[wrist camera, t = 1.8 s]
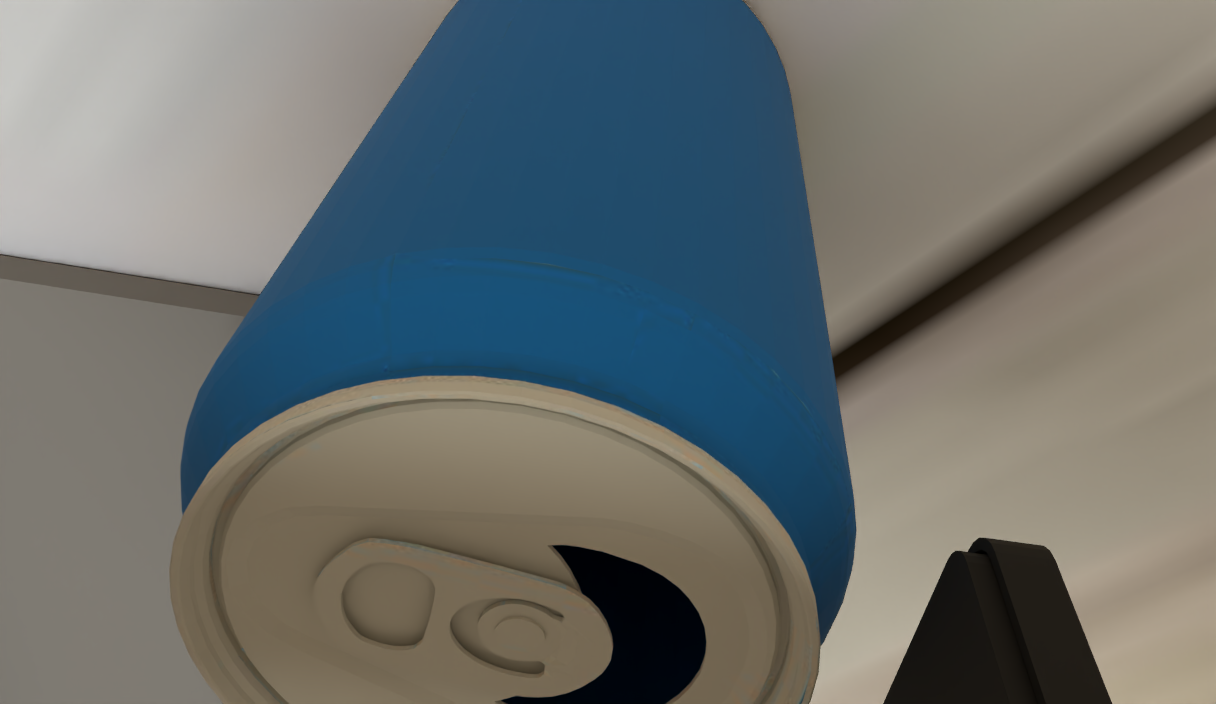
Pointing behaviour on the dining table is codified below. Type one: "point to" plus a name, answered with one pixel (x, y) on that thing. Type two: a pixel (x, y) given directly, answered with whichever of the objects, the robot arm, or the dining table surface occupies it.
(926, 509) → the dining table surface
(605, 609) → the beverage can
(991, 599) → the robot arm
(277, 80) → the dining table surface
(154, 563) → the tray
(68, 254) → the dining table surface
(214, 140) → the dining table surface
